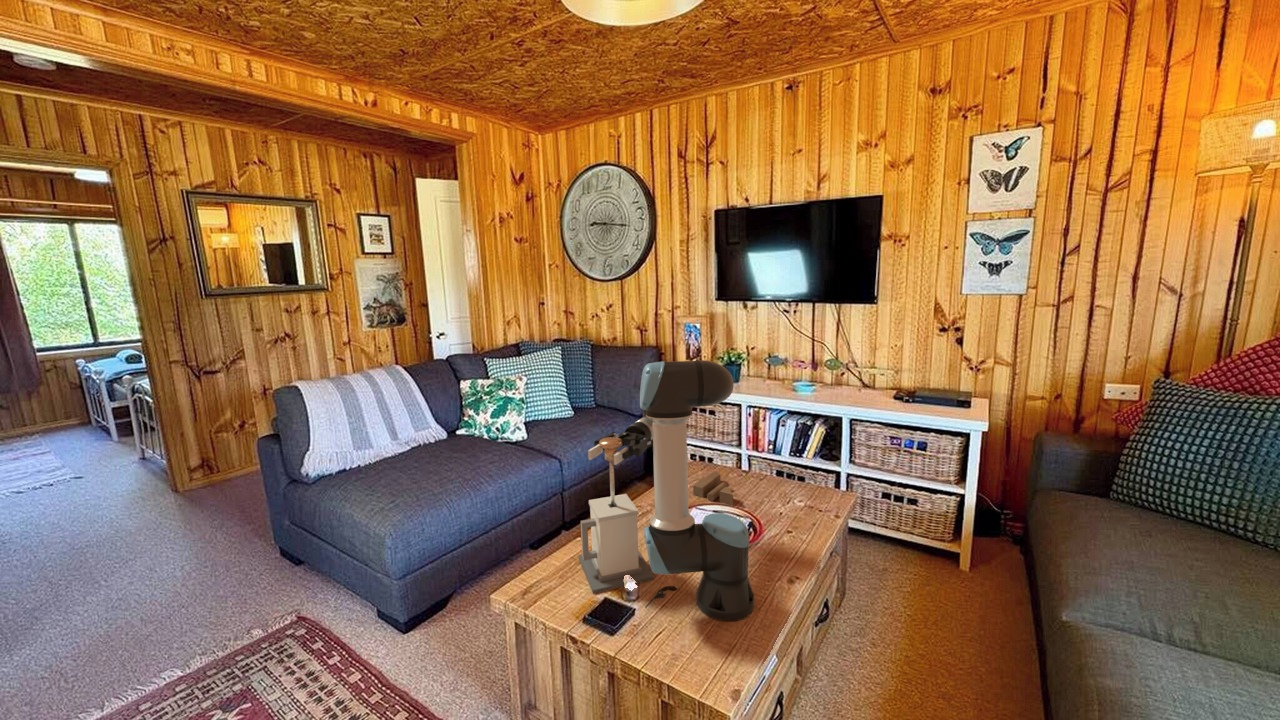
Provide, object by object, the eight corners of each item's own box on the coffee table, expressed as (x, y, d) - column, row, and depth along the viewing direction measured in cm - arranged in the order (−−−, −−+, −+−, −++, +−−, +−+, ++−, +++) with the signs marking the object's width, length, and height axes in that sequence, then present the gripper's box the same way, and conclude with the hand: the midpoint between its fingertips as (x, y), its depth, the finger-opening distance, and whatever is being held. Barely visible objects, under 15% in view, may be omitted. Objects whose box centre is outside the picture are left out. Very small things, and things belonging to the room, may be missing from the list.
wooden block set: (691, 483, 196) (713, 467, 211) (691, 497, 197) (713, 480, 212) (731, 493, 187) (751, 476, 201) (731, 508, 188) (751, 490, 202)
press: (641, 572, 147) (640, 511, 144) (588, 584, 142) (585, 521, 139) (628, 550, 159) (626, 492, 155) (579, 560, 154) (576, 501, 150)
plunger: (627, 518, 146) (624, 443, 142) (605, 522, 144) (602, 446, 140) (620, 508, 152) (618, 436, 148) (599, 512, 150) (596, 438, 146)
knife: (665, 584, 144) (665, 582, 144) (678, 589, 142) (678, 587, 141) (638, 614, 132) (638, 612, 132) (652, 620, 130) (651, 617, 130)
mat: (654, 579, 146) (654, 576, 146) (592, 593, 140) (592, 590, 140) (634, 547, 163) (634, 544, 162) (578, 558, 157) (578, 555, 157)
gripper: (670, 449, 156) (634, 476, 136) (613, 439, 166) (572, 464, 146) (670, 425, 155) (634, 450, 135) (612, 417, 164) (570, 439, 144)
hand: (601, 457), depth 140 cm, fingers open, 8 cm apart
